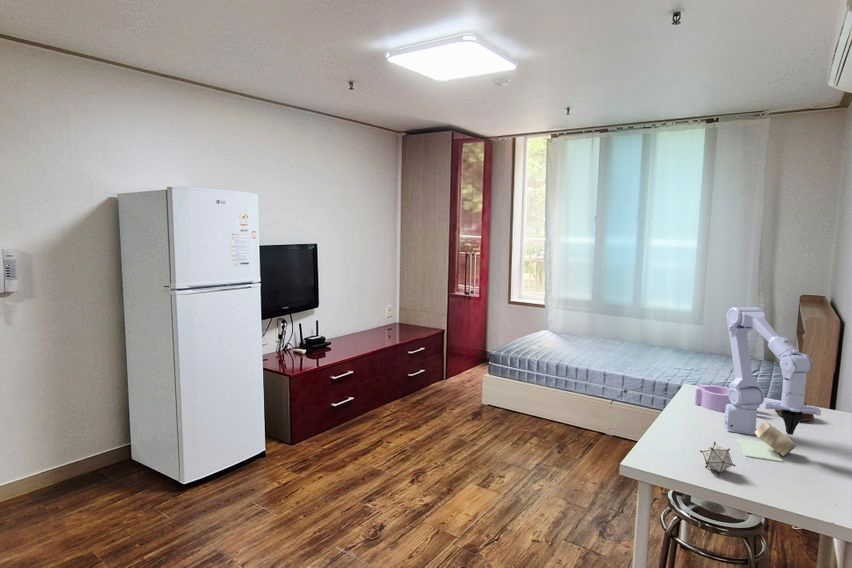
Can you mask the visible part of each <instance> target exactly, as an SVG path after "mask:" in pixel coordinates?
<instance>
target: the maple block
mask: <svg viewBox="0 0 852 568" xmlns="http://www.w3.org/2000/svg"><path fill="white" fill-rule="evenodd" d="M755 433H756V435H755V436H756V437H757V438H758V439H760V441H761V442H765V443H766V444H768V445H769V446H770V447H772V448H773V449H774V450H776V451H777V453H778V454H779V455H781V456H782V457H786V456H787V455H788V454H789V453H790V452H792V450H794V449H795V448H796V447H797V445H796V444H795V442H794V441H793V440H792V439H791V438H789V437H788V436H787V435H786V434H784V433H783V432H781V431H780V430H778V429H777V428H776V427H774V426H773V425H772V424H771V423H769V422H768V421H766V420H765V421H764V422H763V423H762V424H761V425H760V426H759V427H757V429H756V431H755Z"/></svg>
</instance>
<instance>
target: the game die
mask: <svg viewBox="0 0 852 568" xmlns="http://www.w3.org/2000/svg"><path fill="white" fill-rule="evenodd" d="M729 451H731V449H730V448H724V447H722V446H720V445H718V444H717V443H716V441H714V442H713V445H711V446H709V447H708V448H706V449H704V450H699V452H700V453H702V455H703V458H704V461H705V468H710V469H712V470H714V471H716V472H718V474H719V475H720V476H722V472H723V471H727V469H729V468H731V467H732V466H733V467H737V465H736V464H734V463H733V459H732V458H731V455H730V452H729ZM705 468H704V469H705Z"/></svg>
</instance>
